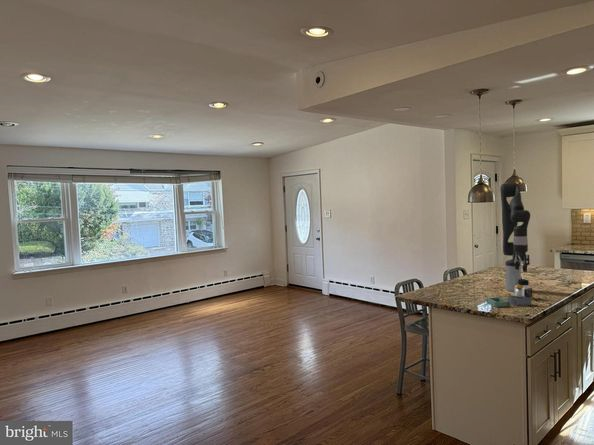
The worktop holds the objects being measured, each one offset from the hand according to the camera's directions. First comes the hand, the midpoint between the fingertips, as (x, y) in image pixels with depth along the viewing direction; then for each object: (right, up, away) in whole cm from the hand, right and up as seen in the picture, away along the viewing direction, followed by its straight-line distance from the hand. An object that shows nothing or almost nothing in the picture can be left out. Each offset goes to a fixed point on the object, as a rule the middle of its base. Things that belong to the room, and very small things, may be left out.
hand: (520, 270), depth 247 cm
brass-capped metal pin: (0, -20, +1) cm, 20 cm away
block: (0, -20, +1) cm, 20 cm away
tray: (-13, -21, +2) cm, 25 cm away
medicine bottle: (+10, -19, +15) cm, 27 cm away
